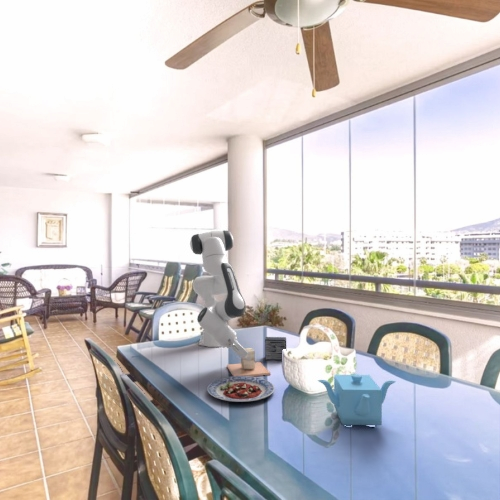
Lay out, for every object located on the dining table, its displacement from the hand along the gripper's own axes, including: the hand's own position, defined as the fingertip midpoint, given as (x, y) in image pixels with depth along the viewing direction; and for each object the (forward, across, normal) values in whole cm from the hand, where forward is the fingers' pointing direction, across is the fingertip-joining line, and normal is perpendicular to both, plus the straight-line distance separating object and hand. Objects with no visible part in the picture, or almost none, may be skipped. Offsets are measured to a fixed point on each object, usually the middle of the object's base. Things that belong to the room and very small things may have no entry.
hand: (248, 357), depth 176 cm
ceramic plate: (-2, -24, +11) cm, 27 cm away
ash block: (+3, 0, +3) cm, 4 cm away
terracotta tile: (+4, 0, +4) cm, 6 cm away
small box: (+17, +14, -8) cm, 23 cm away
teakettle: (+19, -58, -10) cm, 62 cm away
